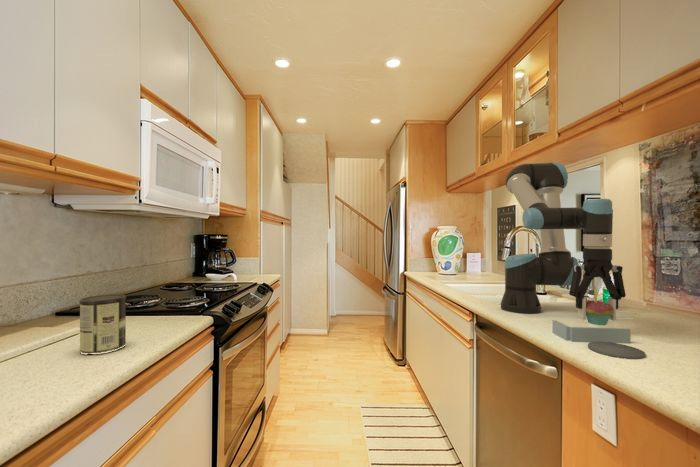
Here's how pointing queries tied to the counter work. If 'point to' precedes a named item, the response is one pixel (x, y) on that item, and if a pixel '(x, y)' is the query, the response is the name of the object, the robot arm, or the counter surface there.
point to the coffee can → (102, 323)
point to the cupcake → (598, 311)
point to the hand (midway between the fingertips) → (596, 318)
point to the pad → (616, 350)
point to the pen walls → (591, 333)
